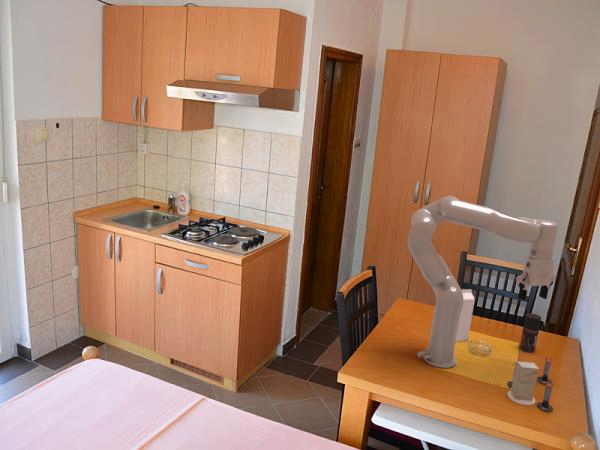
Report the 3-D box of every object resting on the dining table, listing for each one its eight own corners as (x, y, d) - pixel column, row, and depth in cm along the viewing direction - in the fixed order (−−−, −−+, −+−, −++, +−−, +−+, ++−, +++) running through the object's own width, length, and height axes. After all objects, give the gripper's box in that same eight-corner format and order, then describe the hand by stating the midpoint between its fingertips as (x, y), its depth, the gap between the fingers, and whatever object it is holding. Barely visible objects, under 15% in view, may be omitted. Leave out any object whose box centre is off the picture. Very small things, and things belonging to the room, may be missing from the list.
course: (544, 413, 173) (549, 388, 171) (504, 383, 190) (508, 360, 188) (587, 405, 180) (592, 381, 178) (544, 377, 197) (548, 355, 195)
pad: (520, 407, 175) (520, 405, 175) (501, 392, 184) (502, 391, 184) (541, 403, 179) (541, 402, 179) (521, 389, 187) (522, 388, 187)
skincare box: (514, 399, 179) (521, 367, 176) (510, 392, 183) (516, 360, 181) (533, 400, 179) (539, 368, 176) (528, 393, 183) (534, 362, 181)
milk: (468, 340, 224) (476, 292, 219) (455, 341, 222) (463, 292, 217) (460, 334, 230) (468, 286, 224) (447, 334, 228) (455, 287, 223)
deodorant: (532, 354, 216) (539, 320, 212) (517, 349, 219) (524, 316, 216) (536, 349, 220) (542, 316, 217) (521, 344, 224) (527, 312, 220)
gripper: (529, 257, 184) (520, 303, 188) (567, 256, 189) (558, 301, 193) (514, 251, 191) (506, 295, 195) (551, 250, 196) (543, 293, 200)
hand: (532, 298), depth 194 cm, fingers open, 9 cm apart
